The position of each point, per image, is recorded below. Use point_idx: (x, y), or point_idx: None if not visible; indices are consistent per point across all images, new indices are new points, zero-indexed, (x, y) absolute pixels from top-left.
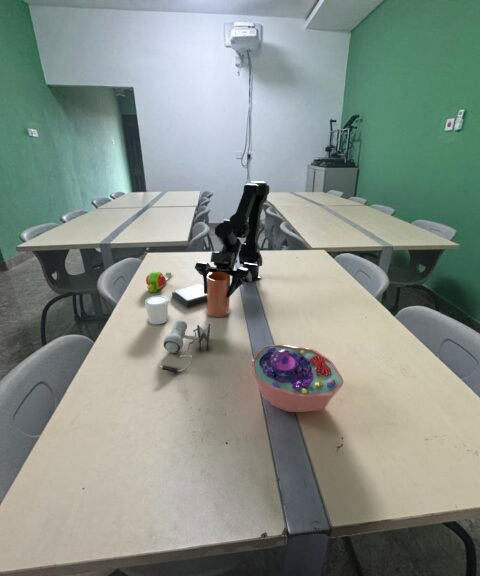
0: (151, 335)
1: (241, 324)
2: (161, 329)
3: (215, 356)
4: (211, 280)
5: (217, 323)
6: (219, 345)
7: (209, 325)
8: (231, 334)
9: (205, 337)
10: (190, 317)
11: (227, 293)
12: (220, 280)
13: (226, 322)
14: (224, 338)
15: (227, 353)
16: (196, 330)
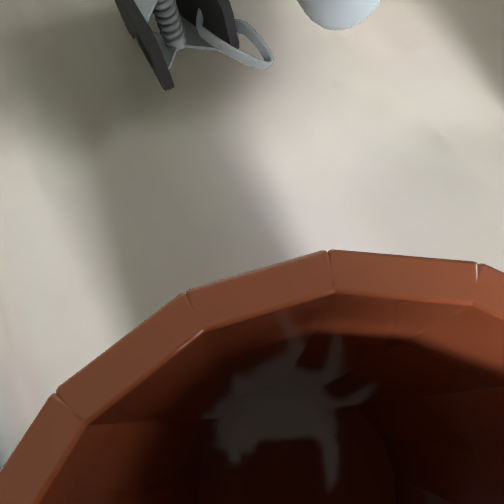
0: (498, 21)
1: (16, 365)
2: (501, 84)
3: (69, 5)
4: (413, 263)
5: None
6: (84, 83)
7: (138, 24)
8: (51, 208)
9: (163, 41)
10: None
11: None
12: (138, 360)
13: None
14: (81, 151)
15: (15, 44)
16: (251, 64)
